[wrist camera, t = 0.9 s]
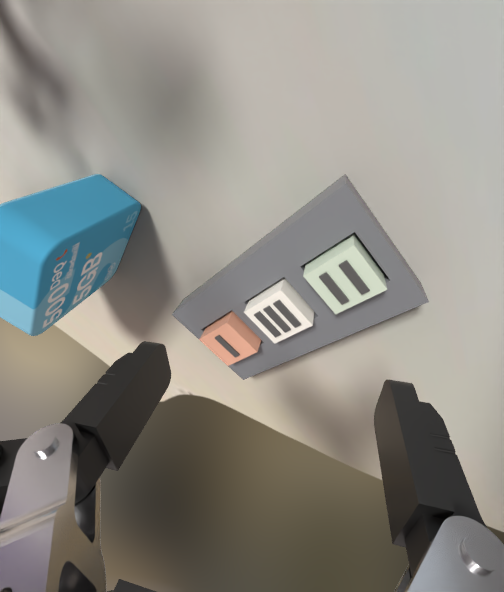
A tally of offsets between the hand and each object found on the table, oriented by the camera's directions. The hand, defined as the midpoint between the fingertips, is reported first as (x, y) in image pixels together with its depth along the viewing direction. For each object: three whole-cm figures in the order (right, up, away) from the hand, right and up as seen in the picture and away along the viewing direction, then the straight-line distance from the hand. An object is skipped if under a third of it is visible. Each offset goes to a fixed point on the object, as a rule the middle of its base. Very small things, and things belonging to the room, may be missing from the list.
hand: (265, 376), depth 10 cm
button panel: (+3, +3, +19) cm, 20 cm away
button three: (+3, +2, +18) cm, 19 cm away
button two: (+8, +6, +14) cm, 17 cm away
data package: (-16, +10, +21) cm, 28 cm away
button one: (-2, -1, +22) cm, 22 cm away
